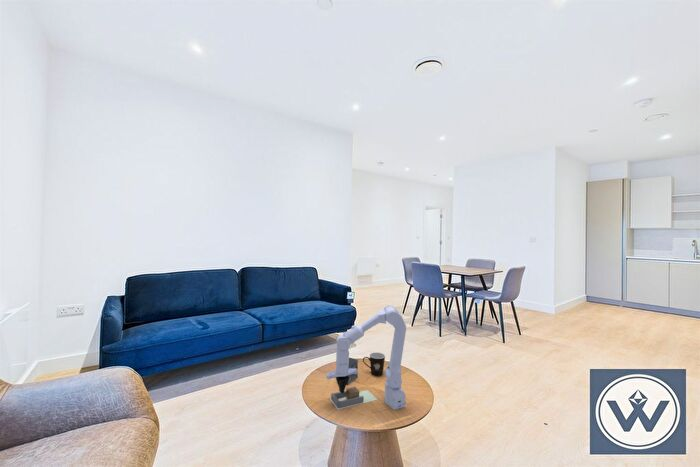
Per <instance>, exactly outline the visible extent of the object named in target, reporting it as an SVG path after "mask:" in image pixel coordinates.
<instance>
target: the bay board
mask: <svg viewBox="0 0 700 467" xmlns="http://www.w3.org/2000/svg"><path fill="white" fill-rule="evenodd" d="M330 396H331V397H330V398H329V400H330V402H332V404H333V405H334V407H335V408H336V410H342V409H347V408H350V407H354V406H358V405H362V404H366V403H369V402H373V401H377V400H378V398H376V397H375V395H373V394H372V393H371V391H369V390H368V389H365V390H362V391H359V397H355V398H351V399H347V398H346V390H344V393H341V392H340V391H337V392H332V393H331V394H330Z"/></svg>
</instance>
